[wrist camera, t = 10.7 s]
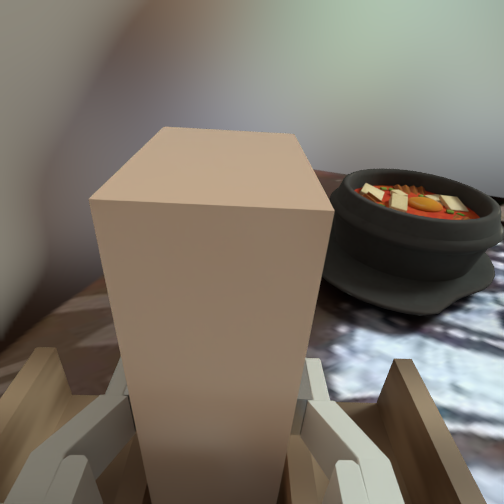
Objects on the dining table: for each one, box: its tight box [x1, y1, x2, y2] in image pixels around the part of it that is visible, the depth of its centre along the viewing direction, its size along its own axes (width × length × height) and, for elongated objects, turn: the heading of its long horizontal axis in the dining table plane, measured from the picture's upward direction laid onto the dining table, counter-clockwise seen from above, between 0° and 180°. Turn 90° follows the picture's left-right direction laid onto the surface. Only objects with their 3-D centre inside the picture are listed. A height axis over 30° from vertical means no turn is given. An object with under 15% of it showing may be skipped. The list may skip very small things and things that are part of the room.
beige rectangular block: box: [89, 127, 335, 504], centre depth 11 cm, size 5×4×15 cm
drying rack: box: [0, 347, 487, 504], centre depth 15 cm, size 12×21×6 cm, turn 91°
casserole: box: [322, 169, 504, 316], centre depth 37 cm, size 25×19×8 cm
